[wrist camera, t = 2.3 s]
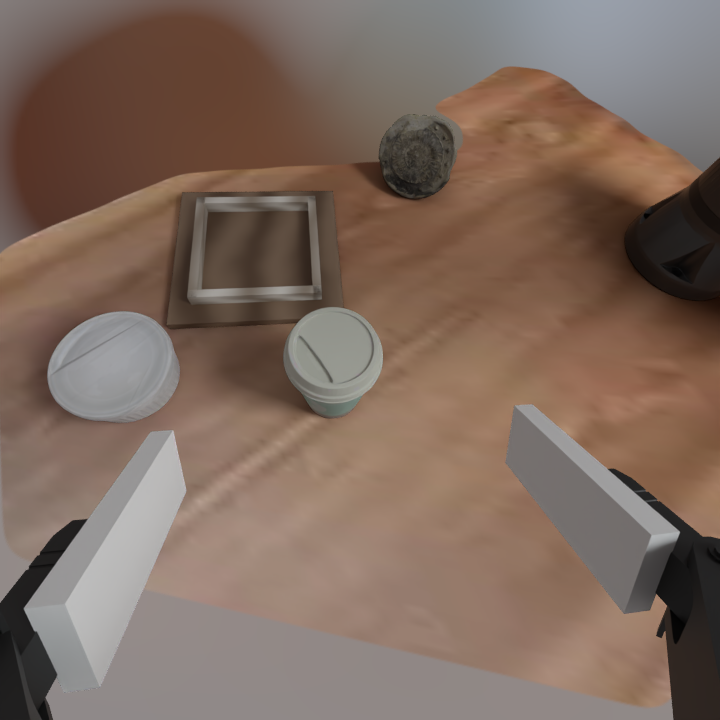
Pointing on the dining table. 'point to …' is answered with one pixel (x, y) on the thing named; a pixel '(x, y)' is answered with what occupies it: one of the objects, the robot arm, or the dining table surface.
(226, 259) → the locating board
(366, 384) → the coffee cup
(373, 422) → the dining table surface
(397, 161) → the fossil
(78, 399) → the ramekin
